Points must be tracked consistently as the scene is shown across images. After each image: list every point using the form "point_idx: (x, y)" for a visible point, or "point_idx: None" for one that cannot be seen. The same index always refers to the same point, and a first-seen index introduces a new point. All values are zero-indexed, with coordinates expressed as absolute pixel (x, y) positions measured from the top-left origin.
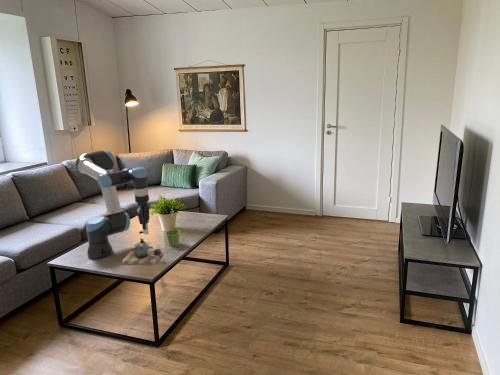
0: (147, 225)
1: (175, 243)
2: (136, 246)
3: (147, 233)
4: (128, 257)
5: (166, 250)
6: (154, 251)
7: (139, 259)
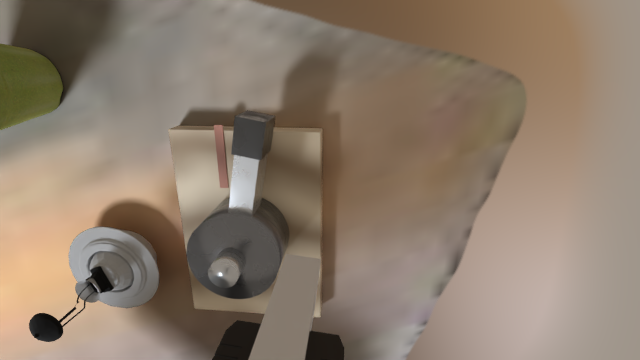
0: (269, 355)
1: (38, 62)
2: (144, 295)
3: (319, 268)
4: None
5: (131, 108)
6: (263, 155)
7: (303, 232)
